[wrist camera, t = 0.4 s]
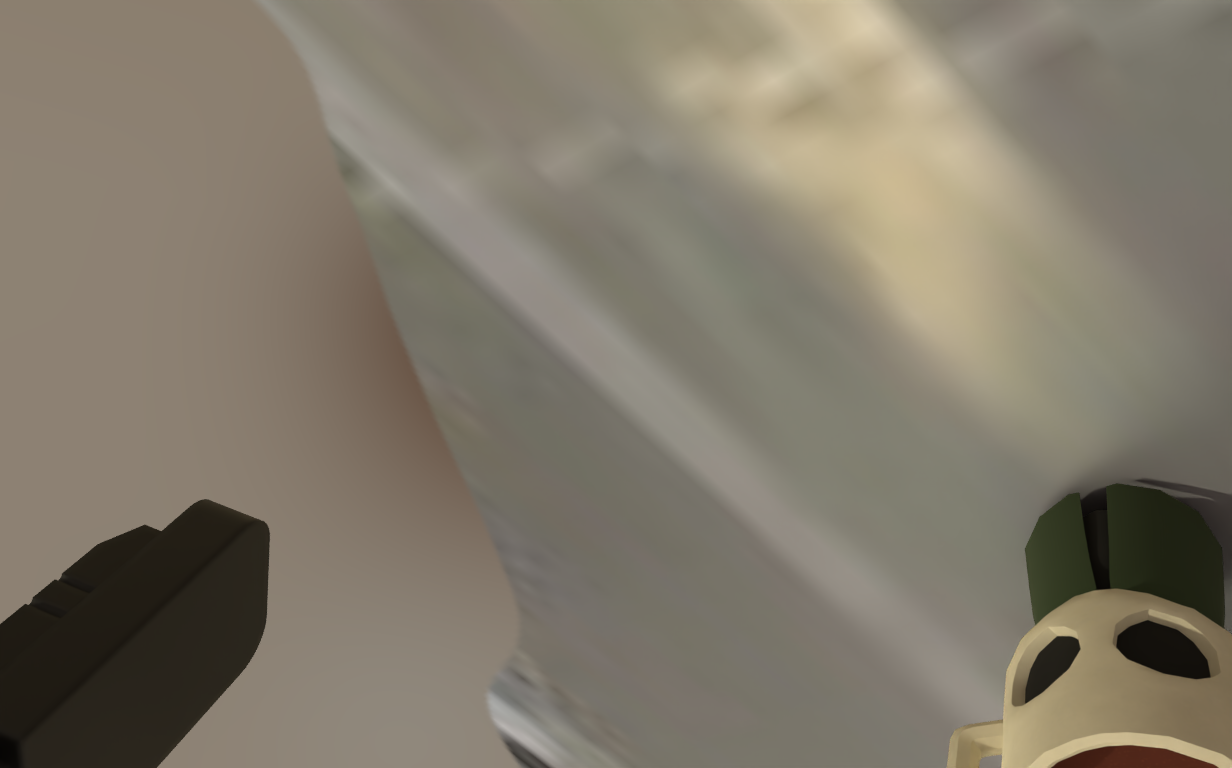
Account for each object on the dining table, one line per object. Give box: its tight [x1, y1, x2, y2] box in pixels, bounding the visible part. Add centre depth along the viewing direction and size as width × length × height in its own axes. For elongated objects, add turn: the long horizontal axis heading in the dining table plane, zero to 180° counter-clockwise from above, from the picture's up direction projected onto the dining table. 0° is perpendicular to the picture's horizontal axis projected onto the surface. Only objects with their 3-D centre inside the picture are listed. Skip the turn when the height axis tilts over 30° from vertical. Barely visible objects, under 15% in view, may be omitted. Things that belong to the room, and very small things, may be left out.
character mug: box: [947, 484, 1232, 768], centre depth 35 cm, size 11×7×13 cm, turn 118°
